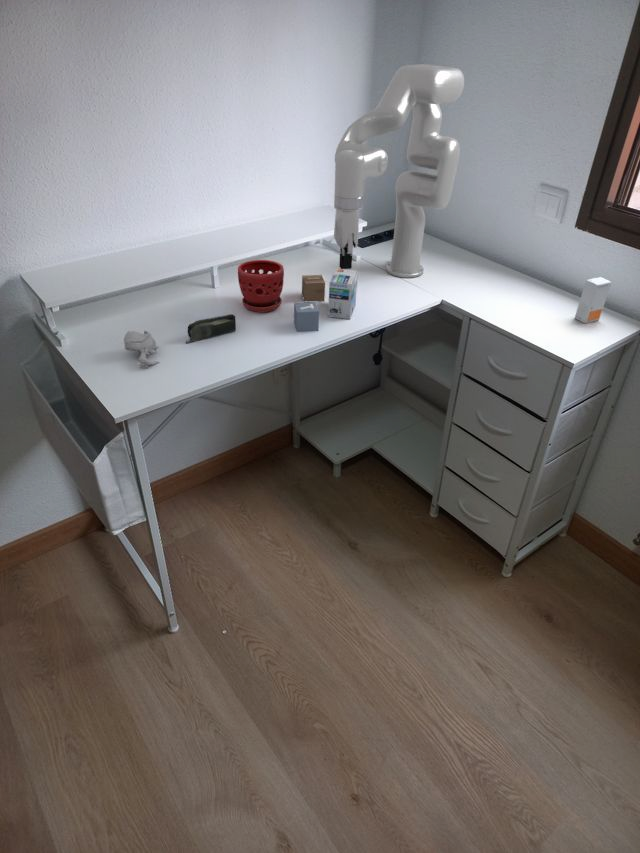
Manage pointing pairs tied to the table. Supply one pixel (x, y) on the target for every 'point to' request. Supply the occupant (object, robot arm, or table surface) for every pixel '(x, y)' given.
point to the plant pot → (261, 284)
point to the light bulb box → (342, 293)
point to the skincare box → (592, 299)
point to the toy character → (141, 346)
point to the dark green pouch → (211, 327)
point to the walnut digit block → (313, 288)
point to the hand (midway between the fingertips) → (345, 267)
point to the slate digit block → (306, 317)
